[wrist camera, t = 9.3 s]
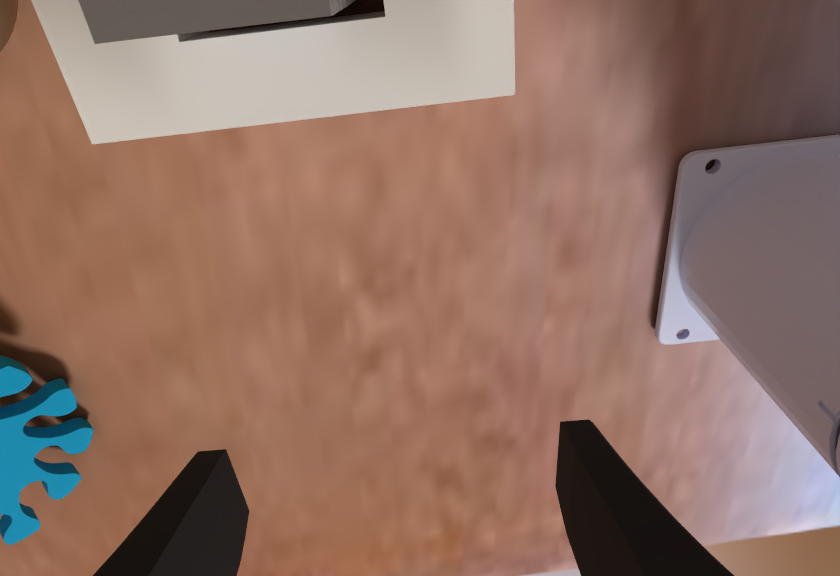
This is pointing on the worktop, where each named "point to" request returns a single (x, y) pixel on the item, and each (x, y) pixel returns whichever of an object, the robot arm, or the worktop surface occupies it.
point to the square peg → (193, 15)
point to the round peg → (7, 20)
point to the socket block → (283, 67)
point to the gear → (34, 447)
